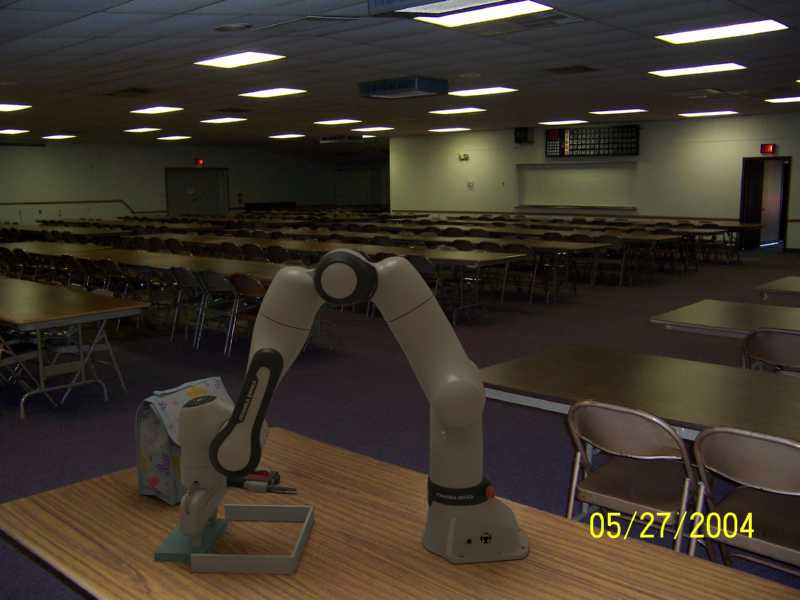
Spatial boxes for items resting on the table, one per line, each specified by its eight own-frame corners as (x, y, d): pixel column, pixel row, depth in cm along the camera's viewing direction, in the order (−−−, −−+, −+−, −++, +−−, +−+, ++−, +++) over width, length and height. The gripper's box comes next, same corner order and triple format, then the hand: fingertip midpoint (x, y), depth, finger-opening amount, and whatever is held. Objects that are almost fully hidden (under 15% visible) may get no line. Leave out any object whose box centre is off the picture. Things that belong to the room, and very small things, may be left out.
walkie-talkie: (219, 490, 180) (295, 497, 176) (219, 473, 179) (294, 480, 175) (234, 477, 188) (307, 483, 184) (234, 461, 188) (306, 466, 183)
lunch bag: (178, 511, 167) (172, 401, 163) (131, 495, 176) (125, 390, 172) (247, 478, 186) (243, 379, 182) (201, 466, 195) (197, 371, 191)
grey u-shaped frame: (314, 520, 162) (313, 505, 162) (294, 574, 139) (293, 557, 139) (225, 518, 163) (225, 504, 163) (191, 571, 140) (190, 555, 140)
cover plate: (228, 531, 160) (227, 518, 160) (203, 568, 144) (202, 554, 144) (184, 530, 161) (183, 517, 160) (155, 566, 145) (154, 552, 144)
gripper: (201, 494, 139) (204, 560, 141) (231, 455, 159) (233, 514, 161) (169, 493, 139) (172, 559, 142) (203, 455, 160) (205, 513, 162)
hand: (205, 535), depth 152 cm, fingers open, 8 cm apart
